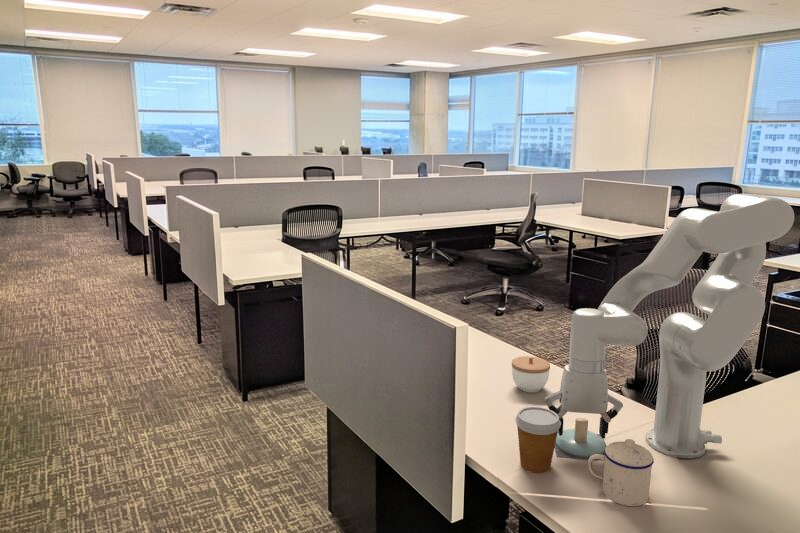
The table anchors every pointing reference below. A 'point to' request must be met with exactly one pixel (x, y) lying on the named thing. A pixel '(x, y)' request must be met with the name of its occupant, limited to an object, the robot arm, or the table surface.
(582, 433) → the cover
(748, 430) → the table surface
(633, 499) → the teacup with lid
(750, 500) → the table surface
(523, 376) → the lidded jar
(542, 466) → the disposable coffee cup
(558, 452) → the mat
